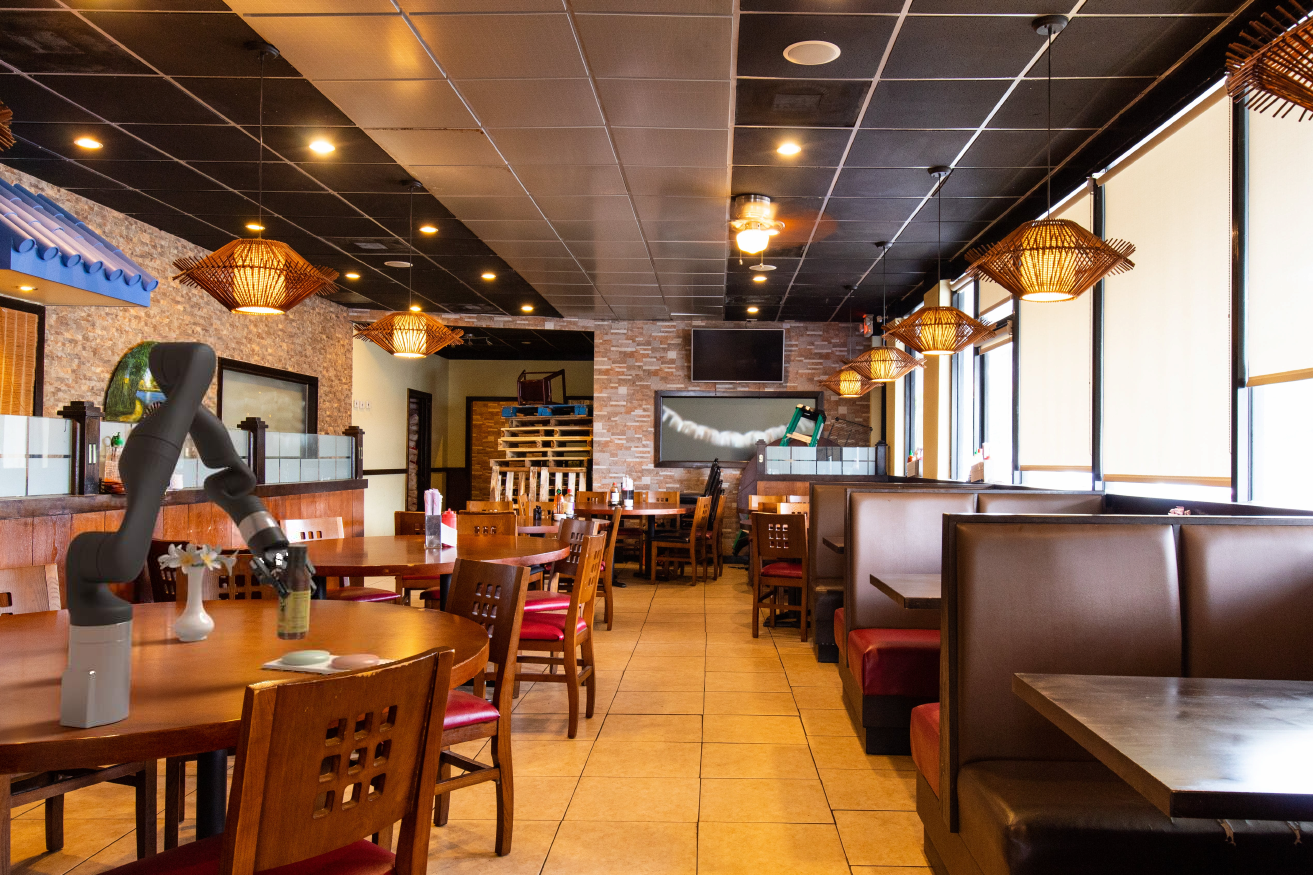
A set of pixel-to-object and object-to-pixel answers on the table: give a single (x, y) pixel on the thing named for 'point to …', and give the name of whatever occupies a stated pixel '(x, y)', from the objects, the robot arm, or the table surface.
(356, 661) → the tray
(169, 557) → the flower vase
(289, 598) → the sauce bottle
